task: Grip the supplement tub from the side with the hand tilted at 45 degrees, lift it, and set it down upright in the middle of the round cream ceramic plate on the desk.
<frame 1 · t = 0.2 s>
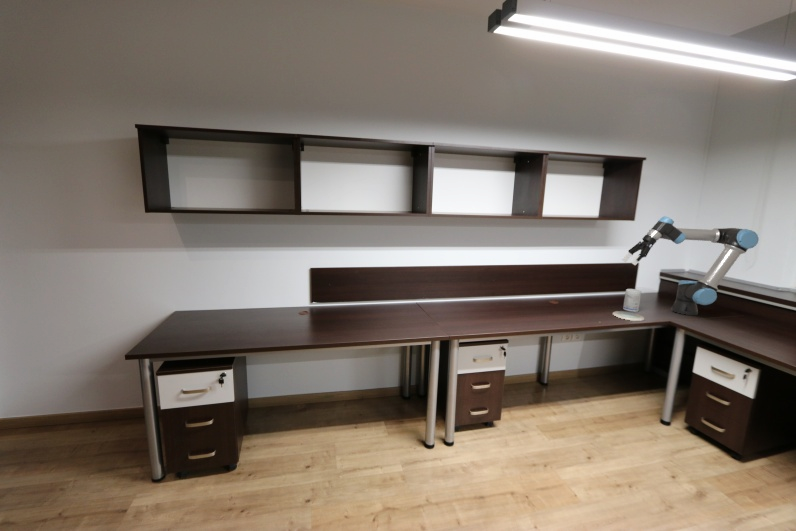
hand: (628, 262, 250), 35 cm above the table, tool tilted 35°, fingers open, 13 cm apart
ceramic plate: (628, 317, 247), on the table
supplement tub: (630, 310, 263), on the table
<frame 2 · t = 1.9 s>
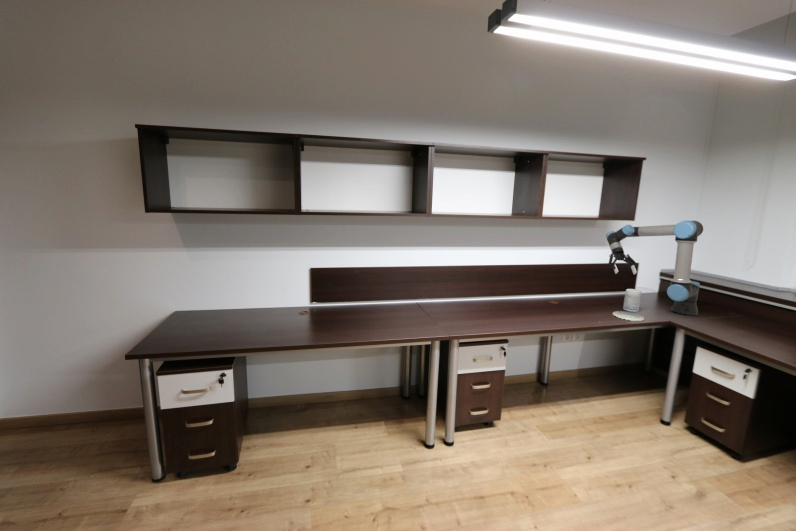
hand: (626, 273, 269), 25 cm above the table, tool tilted 45°, fingers open, 13 cm apart
nothing on the table moved.
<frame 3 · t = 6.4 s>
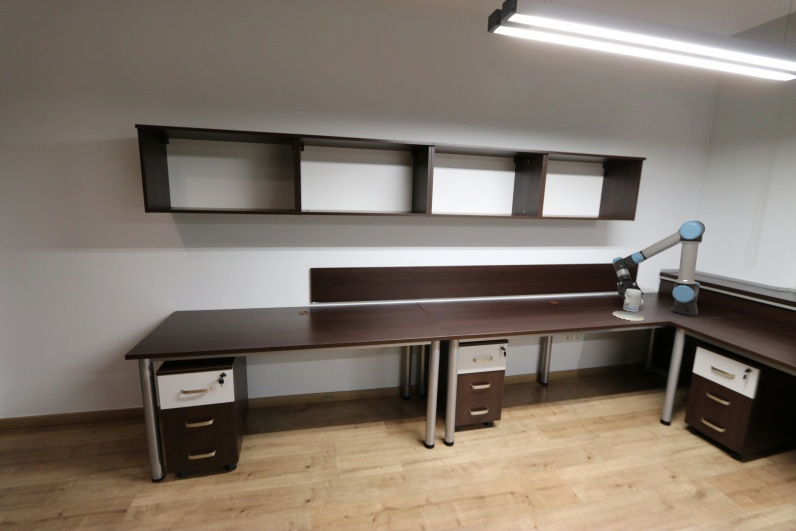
hand: (634, 303, 259), 6 cm above the table, tool tilted 45°, fingers closed on supplement tub, 9 cm apart
supplement tub: (630, 310, 263), on the table, touching gripper
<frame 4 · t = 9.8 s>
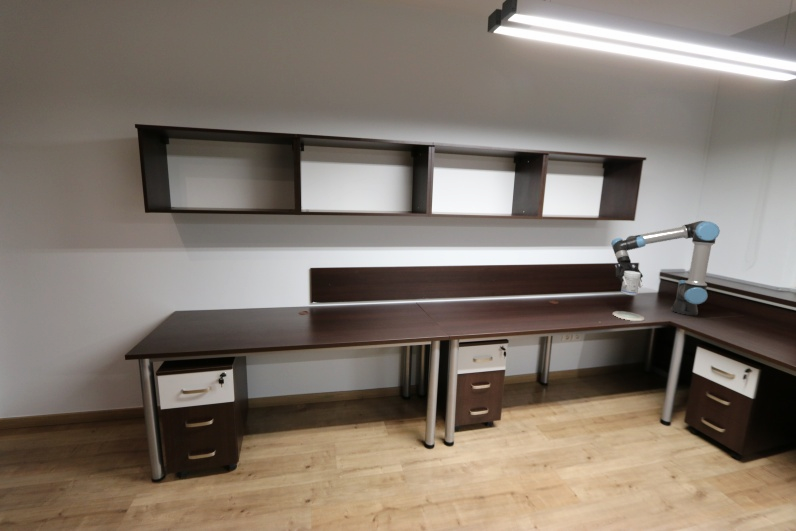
hand: (633, 286, 244), 21 cm above the table, tool tilted 45°, fingers closed on supplement tub, 9 cm apart
supplement tub: (628, 293, 249), point 15 cm above the table, touching gripper
when the fingers open (9 cm above the table, at t = 13.6 s): supplement tub drops 1 cm, resting on ceramic plate.
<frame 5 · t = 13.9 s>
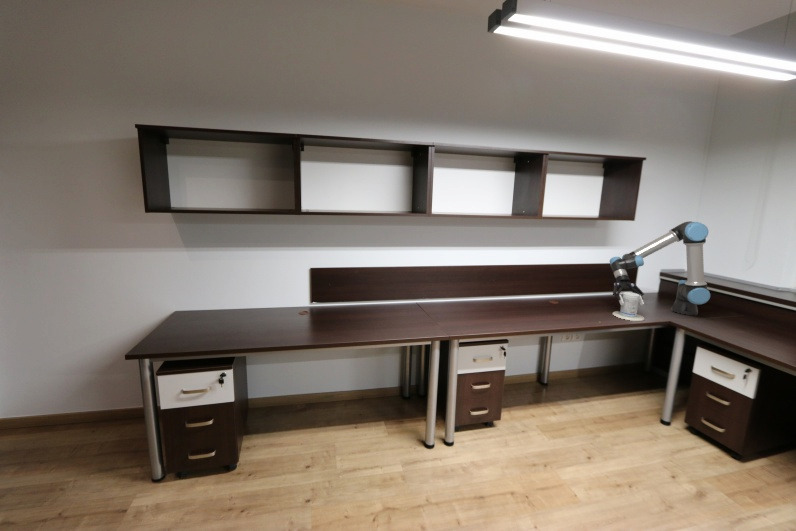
hand: (632, 304, 243), 9 cm above the table, tool tilted 45°, fingers open, 13 cm apart
supplement tub: (627, 315, 247), point 1 cm above the table, touching ceramic plate
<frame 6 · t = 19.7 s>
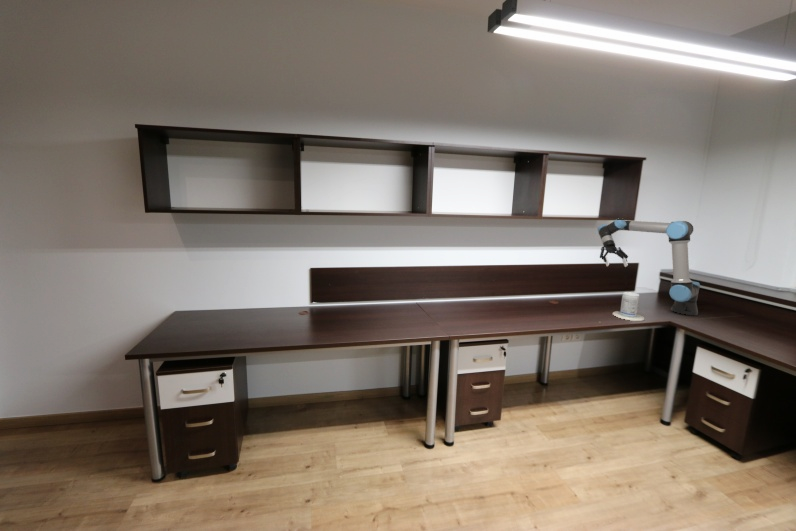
hand: (617, 265, 270), 30 cm above the table, tool tilted 45°, fingers open, 13 cm apart
nothing on the table moved.
at the end: supplement tub 0.2 cm off-centre on the ceramic plate, point 1.1 cm above the ceramic plate's base; supplement tub tilted 1°; the gripper is holding nothing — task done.
